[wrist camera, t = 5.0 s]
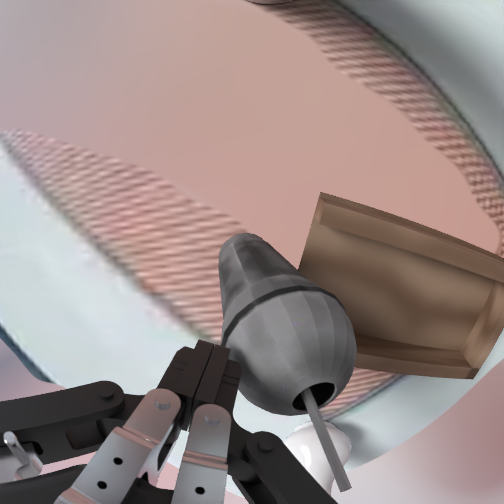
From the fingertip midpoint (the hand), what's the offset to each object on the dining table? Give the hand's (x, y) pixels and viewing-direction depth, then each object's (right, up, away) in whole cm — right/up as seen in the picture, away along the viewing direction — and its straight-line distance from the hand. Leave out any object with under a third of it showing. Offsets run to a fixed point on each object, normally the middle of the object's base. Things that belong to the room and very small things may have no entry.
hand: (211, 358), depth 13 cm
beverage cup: (+1, +4, +13) cm, 14 cm away
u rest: (+18, 0, +13) cm, 22 cm away
